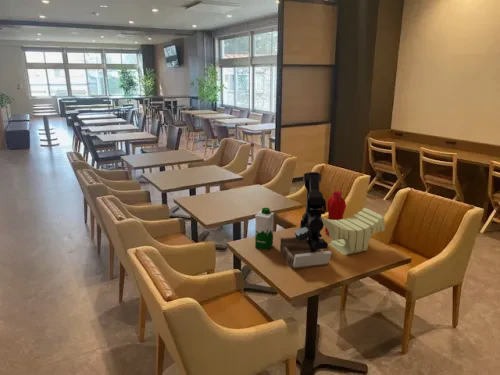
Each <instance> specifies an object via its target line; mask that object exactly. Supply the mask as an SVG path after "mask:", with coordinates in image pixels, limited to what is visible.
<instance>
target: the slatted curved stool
mask: <svg viewBox="0 0 500 375" xmlns="http://www.w3.org/2000/svg"><path fill="white" fill-rule="evenodd" d="M321 217H322V221H323V225H324V226H323V227H326V228H327V229H328V231H329V235H330V236H329V235H328V236H329V238H330V239H332V240H331V241H330V242H329V243H328V246H330V245H331V246H330V247H332V248H333V249H335V251H338V252H339V253H341V254H342V255H345V256H347V255H351V254H356V253H361V252H365V251H367V250H368V247H369V243H370V241H371V238H372V235H374V234H375V233H376V232H385V230H386V221H385V217H384V216H383V215H381V214H379V213H377V212H375V211H373V210H370V209H369V208H367V207H364V208H362V209H361V210H359V211H358V212H357V213H355V214H353V215H351V216H349V217H346V218H343V219H342V220H330V219H328V218H325V217H323V216H321Z"/></svg>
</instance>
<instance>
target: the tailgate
mask: <svg viewBox="0 0 500 375" xmlns="http://www.w3.org/2000/svg"><path fill="white" fill-rule="evenodd" d="M331 256H332V250H326V251H325V250H324V251H323V252H314V253H304V254H295V258H294V262H293V267H301V268H303V267H302V266H310V267H312V266H311V265H319V264H329V262H330V260H331ZM319 266H320V265H319Z"/></svg>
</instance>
